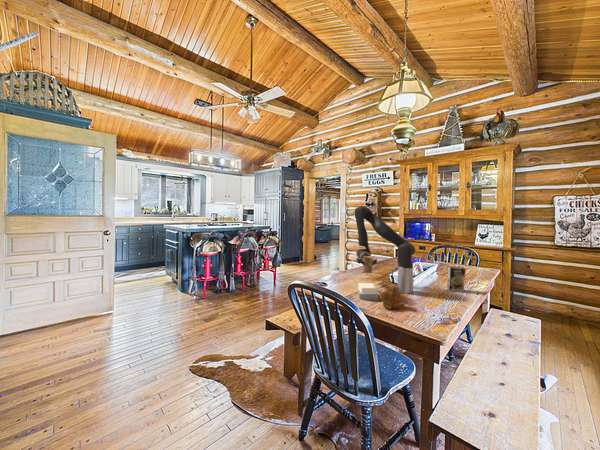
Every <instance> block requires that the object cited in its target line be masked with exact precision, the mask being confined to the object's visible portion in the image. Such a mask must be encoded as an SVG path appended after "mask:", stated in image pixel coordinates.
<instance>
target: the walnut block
mask: <svg viewBox="0 0 600 450" xmlns="http://www.w3.org/2000/svg"><path fill="white" fill-rule="evenodd" d="M372 259H373V256H372V255H371V256H364V258H363V260H364V265H363V264H362V266H363V267H362V268H363V269H362V271H363V273H364V274H365V273H366V274H373V265H372Z"/></svg>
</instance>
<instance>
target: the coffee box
mask: <svg viewBox="0 0 600 450" xmlns="http://www.w3.org/2000/svg"><path fill="white" fill-rule="evenodd" d="M465 280H466V268H464V267H462V266H461V267H459V266H448V269H447V281H446V283H447V284H446V286H447V287H446V289H447V290H448V291H449V292H455V293H457V292H458V293H464V292H465Z"/></svg>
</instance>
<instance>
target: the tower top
mask: <svg viewBox="0 0 600 450" xmlns="http://www.w3.org/2000/svg"><path fill="white" fill-rule="evenodd" d="M357 287H358V289H359V291H360V292H361V294H377V295H378V296H379V287H377V285H376V284H375V283H373V282H371V283H370V282H359V283H358V286H357Z"/></svg>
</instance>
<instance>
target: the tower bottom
mask: <svg viewBox="0 0 600 450" xmlns="http://www.w3.org/2000/svg"><path fill="white" fill-rule="evenodd" d="M357 291H358V299H359V300H360V299H364V300H363V301H374V300H379V294H378V295H377V294H361V292H360V291H359V289H358V290H357Z"/></svg>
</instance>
